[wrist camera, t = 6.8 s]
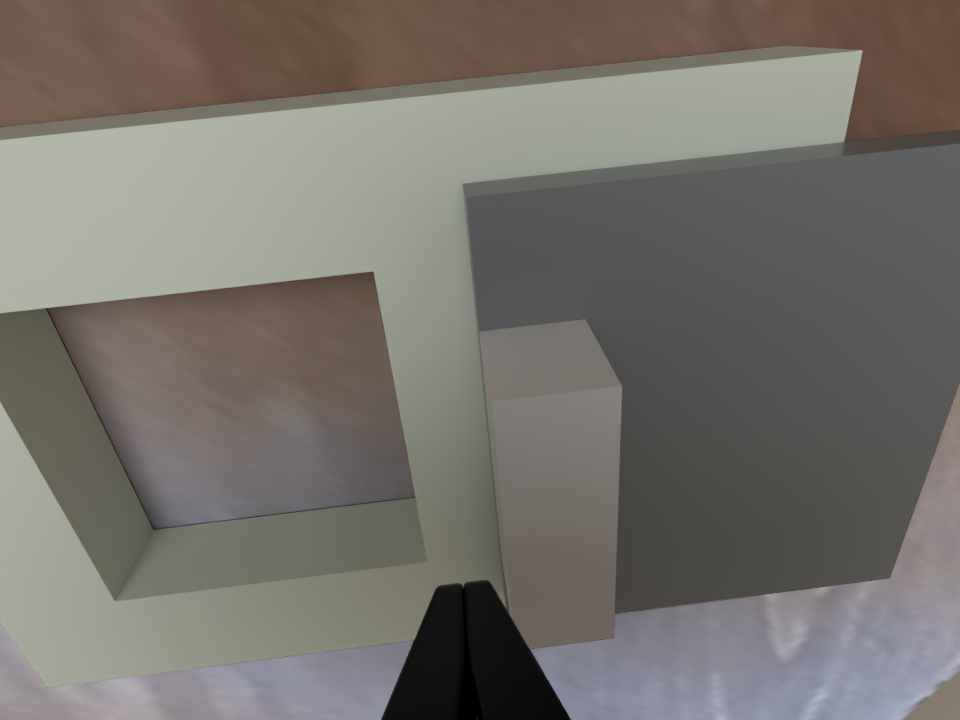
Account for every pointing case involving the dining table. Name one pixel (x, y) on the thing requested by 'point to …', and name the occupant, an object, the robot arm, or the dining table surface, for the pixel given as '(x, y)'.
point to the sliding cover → (713, 372)
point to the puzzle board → (294, 256)
